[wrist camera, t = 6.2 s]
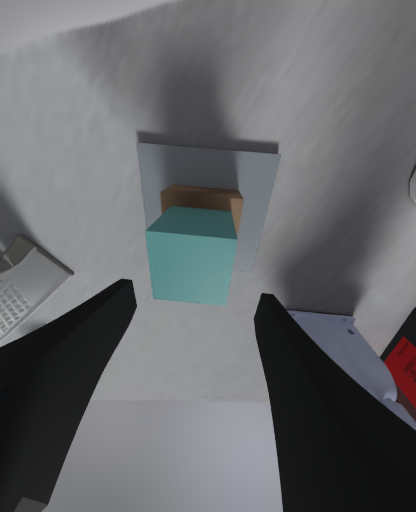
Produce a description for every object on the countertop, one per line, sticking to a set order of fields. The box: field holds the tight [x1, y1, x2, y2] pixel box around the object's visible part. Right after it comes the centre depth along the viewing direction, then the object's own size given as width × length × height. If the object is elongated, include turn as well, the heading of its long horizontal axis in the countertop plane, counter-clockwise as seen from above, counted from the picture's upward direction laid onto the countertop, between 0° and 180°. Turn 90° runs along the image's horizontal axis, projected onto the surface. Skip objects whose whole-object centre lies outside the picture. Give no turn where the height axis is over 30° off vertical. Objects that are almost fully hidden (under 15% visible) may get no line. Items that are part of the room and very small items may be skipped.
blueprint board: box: [137, 143, 281, 273], centre depth 17 cm, size 12×12×1 cm
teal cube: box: [145, 206, 238, 306], centre depth 11 cm, size 4×4×5 cm
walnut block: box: [160, 184, 244, 237], centre depth 15 cm, size 6×6×4 cm
